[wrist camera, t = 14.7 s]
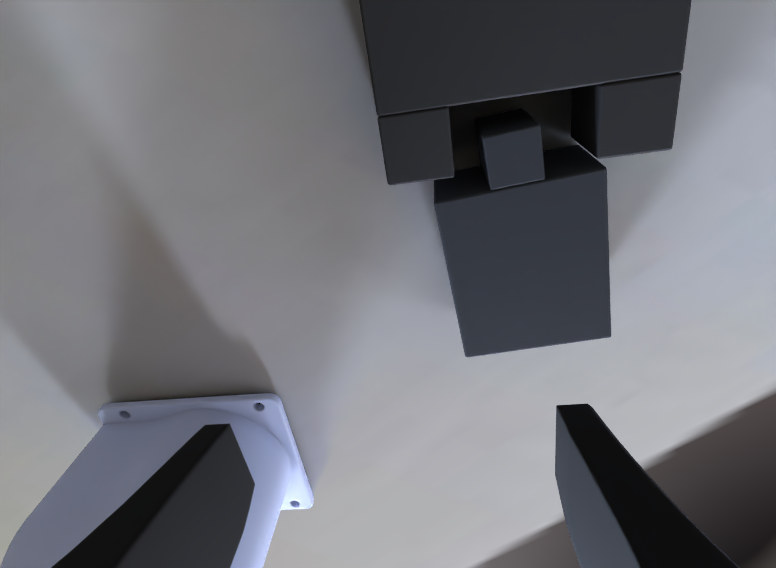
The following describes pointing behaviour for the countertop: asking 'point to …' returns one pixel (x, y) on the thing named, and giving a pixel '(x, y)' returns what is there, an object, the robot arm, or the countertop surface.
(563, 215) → the graphite pad
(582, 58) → the black pad
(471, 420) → the countertop surface
